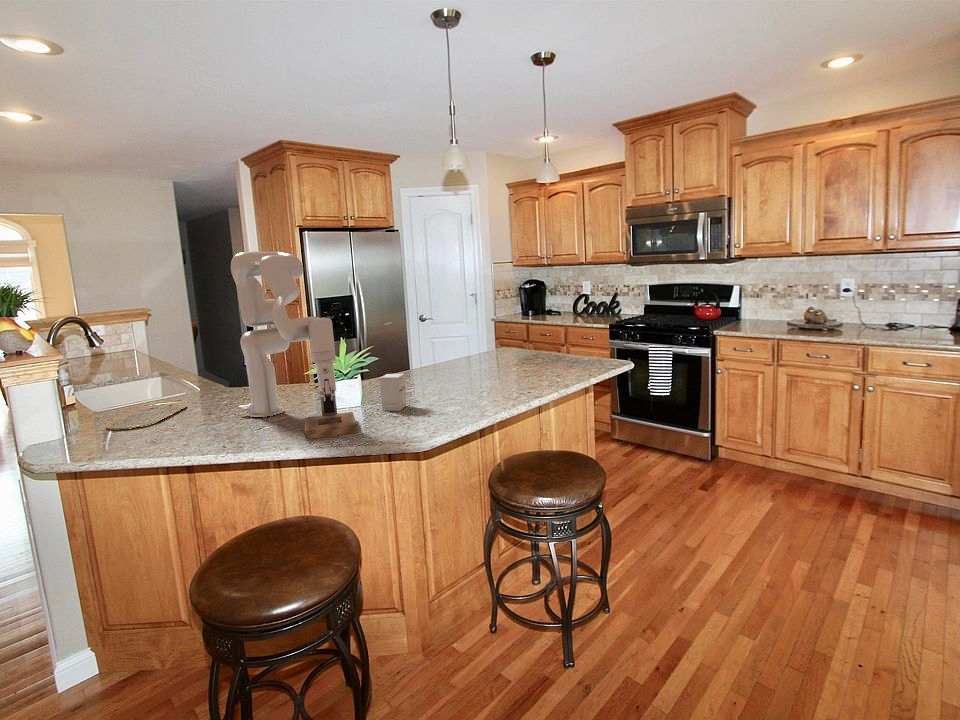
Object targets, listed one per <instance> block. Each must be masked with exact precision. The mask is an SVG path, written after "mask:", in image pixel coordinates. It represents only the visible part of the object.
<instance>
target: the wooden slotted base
mask: <svg viewBox="0 0 960 720" xmlns="http://www.w3.org/2000/svg"><path fill="white" fill-rule="evenodd" d="M358 433H359V432H358V423H357V420H356V418H355V416H354V412H353V411H349V412H348V411H347V412H340V413H337V414H336V415H333V416H322V415H317V416H309V417H304V436H305V438H304V439H305V440H306V439H310V440H314V439H313V438H317V439H321V438H320V437H325V438H329V436H332V437H338V436H337V435H339V436H346V435H352V434H358Z"/></svg>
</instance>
